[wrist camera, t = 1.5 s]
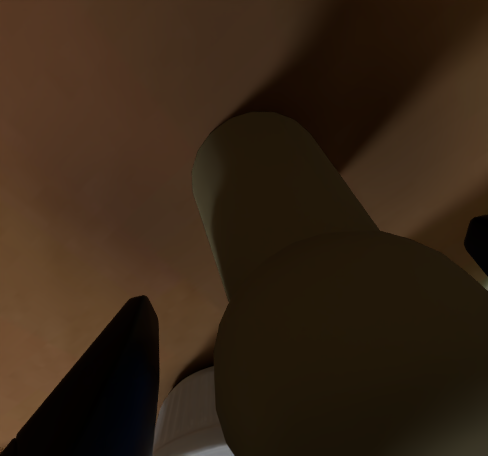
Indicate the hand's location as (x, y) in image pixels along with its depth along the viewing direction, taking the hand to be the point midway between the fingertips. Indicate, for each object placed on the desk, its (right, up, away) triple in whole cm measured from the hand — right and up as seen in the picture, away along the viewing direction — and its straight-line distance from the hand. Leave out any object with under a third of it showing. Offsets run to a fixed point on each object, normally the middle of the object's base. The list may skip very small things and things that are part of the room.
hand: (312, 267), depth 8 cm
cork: (-1, +3, +6) cm, 7 cm away
